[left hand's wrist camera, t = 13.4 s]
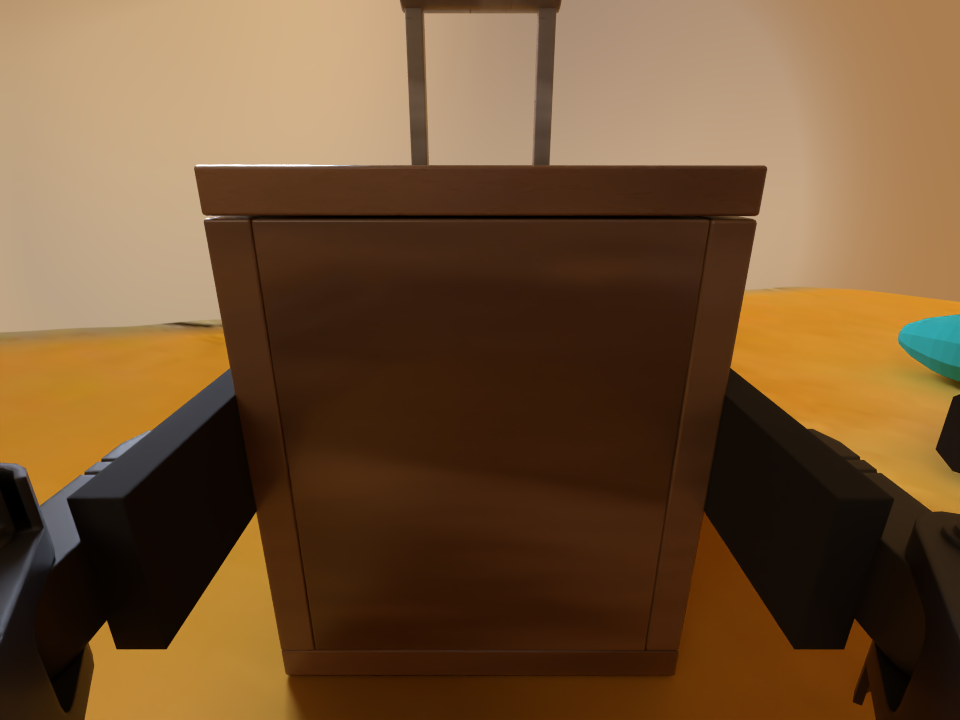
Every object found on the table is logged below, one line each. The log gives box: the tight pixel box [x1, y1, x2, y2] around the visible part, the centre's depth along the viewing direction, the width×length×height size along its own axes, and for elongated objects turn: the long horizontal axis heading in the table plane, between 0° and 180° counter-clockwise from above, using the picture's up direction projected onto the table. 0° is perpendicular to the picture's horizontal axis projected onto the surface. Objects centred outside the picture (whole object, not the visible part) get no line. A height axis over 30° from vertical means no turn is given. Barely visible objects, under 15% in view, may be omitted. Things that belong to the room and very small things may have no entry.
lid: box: [194, 0, 767, 216], centre depth 15 cm, size 18×10×9 cm, turn 0°
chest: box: [204, 216, 757, 675], centre depth 18 cm, size 17×10×11 cm, turn 0°
